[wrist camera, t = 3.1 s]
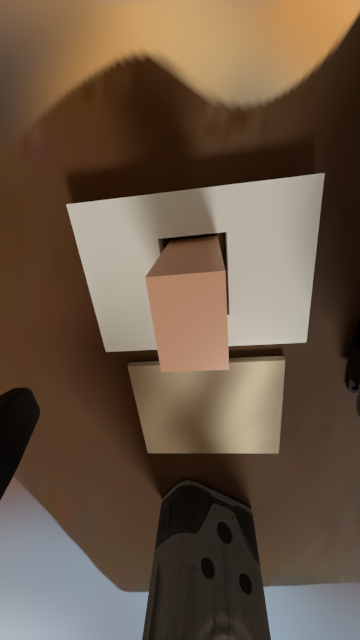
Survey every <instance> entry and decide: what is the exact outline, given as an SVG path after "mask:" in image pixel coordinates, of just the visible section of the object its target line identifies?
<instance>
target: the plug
mask: <svg viewBox="0 0 360 640" xmlns="http://www.w3.org/2000/svg"><path fill="white" fill-rule="evenodd" d="M145 280H146V286H147V292H148V298H149V304H150V309H151V315H152V321H153V327H154V333H155V339H156V345H157V351H158V356H159V362H160V368H161V372H183V371H210V370H229V350H228V323H227V295H226V270H225V266H224V262H223V258H222V254H221V250H220V245H219V241H218V237H217V236H210V237H200V238H190V239H180V240H170V241H169V243H168V244H167V246H166V247H165V249H164V250H163V252H162V253H161V255H160V256H159V258H158V259H157V260H156V262H155V263H154V265H153V266H152V268H151V269H150V271H149V272H148V274H147V275H146V277H145Z"/></svg>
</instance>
